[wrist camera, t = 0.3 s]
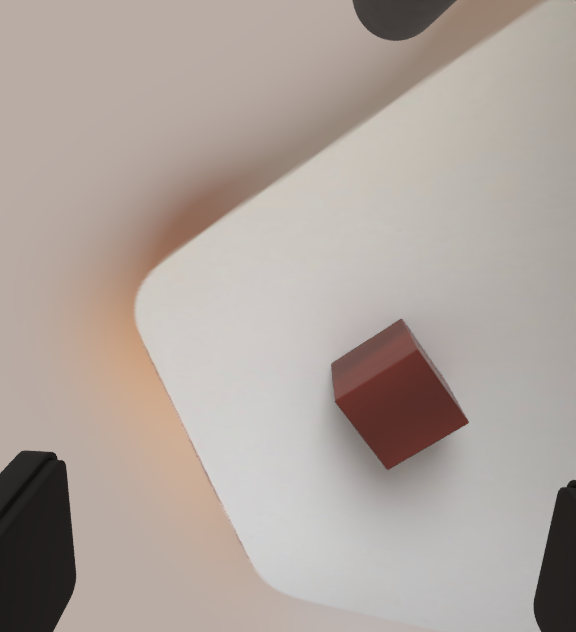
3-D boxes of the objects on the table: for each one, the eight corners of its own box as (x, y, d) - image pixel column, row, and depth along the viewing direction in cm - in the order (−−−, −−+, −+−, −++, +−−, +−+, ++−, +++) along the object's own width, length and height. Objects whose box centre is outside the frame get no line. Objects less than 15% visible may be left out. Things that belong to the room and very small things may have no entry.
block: (330, 363, 30) (334, 401, 25) (401, 317, 29) (418, 349, 24) (376, 424, 31) (387, 471, 26) (446, 382, 30) (469, 423, 25)
